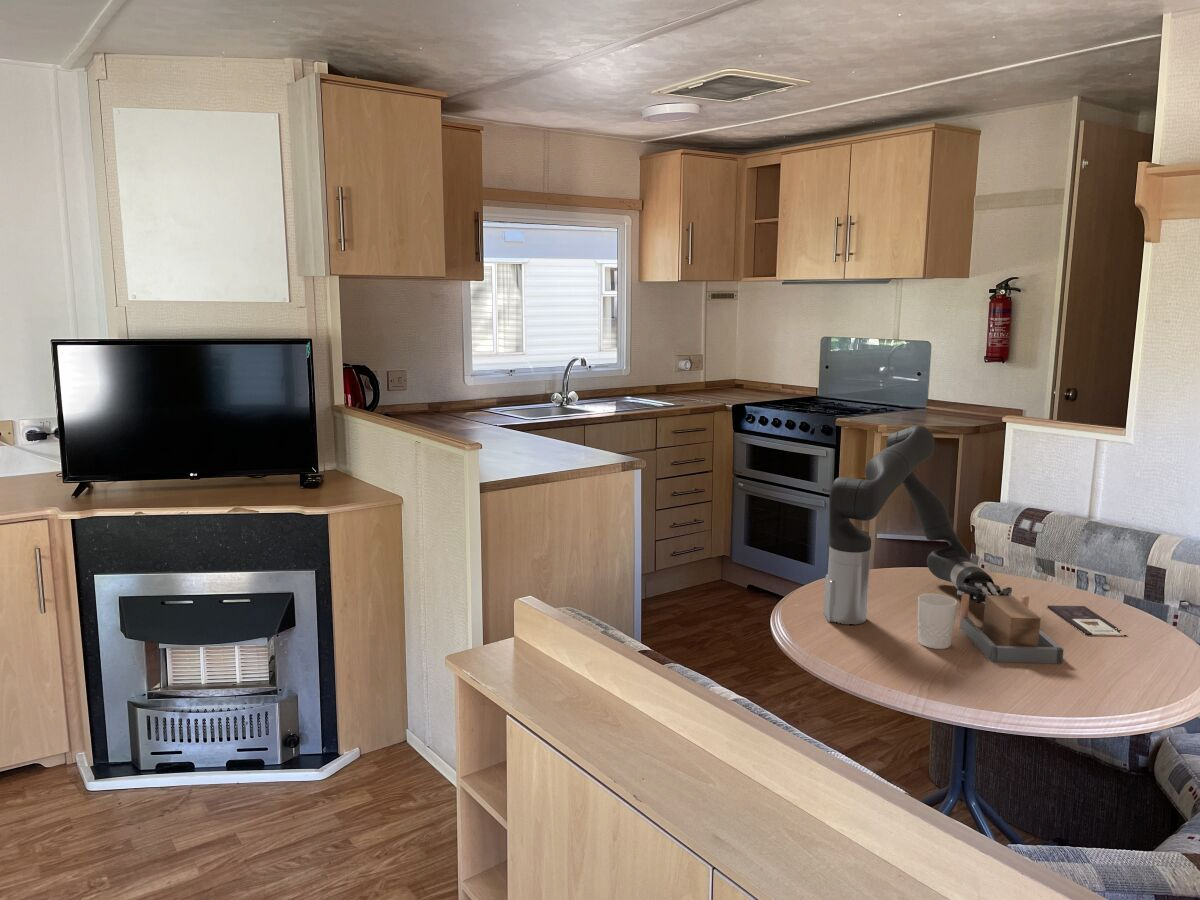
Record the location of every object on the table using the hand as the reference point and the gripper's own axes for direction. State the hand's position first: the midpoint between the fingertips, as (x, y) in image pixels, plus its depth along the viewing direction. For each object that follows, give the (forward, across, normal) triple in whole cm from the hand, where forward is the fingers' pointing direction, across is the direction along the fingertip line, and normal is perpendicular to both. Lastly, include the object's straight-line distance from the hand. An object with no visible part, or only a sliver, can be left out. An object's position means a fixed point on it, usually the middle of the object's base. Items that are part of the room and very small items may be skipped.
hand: (999, 605), depth 202 cm
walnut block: (+7, 0, +7) cm, 10 cm away
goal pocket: (+6, 0, +6) cm, 9 cm away
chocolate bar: (-9, +24, +7) cm, 27 cm away
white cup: (+7, -16, +7) cm, 19 cm away
